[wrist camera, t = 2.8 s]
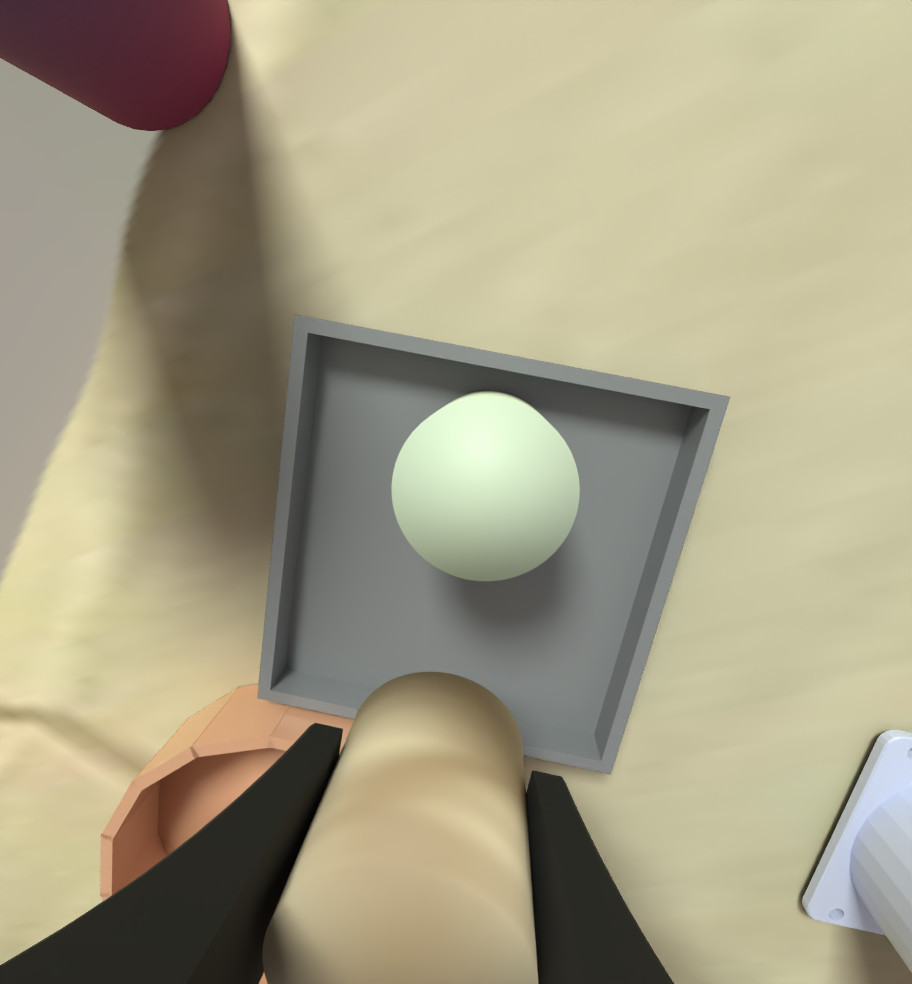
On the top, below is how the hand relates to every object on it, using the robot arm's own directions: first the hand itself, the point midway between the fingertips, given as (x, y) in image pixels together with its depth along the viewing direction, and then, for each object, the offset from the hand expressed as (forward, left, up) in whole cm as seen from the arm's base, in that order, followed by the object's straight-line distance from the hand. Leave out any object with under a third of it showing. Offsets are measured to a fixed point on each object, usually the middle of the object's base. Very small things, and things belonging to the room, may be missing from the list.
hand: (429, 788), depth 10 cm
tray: (0, -3, -7) cm, 7 cm away
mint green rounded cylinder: (0, -6, -6) cm, 9 cm away
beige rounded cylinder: (0, 0, -1) cm, 1 cm away
